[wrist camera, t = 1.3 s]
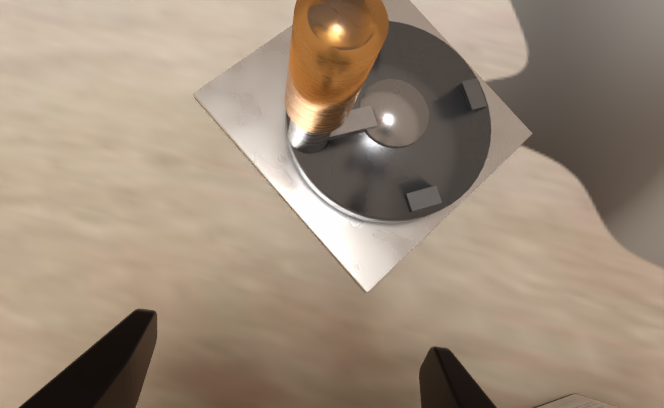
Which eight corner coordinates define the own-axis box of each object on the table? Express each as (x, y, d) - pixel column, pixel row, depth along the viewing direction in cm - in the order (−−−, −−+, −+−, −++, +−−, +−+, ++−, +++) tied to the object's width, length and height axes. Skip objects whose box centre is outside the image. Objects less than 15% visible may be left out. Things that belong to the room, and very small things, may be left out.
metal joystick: (504, 194, 26) (691, 118, 15) (310, 251, 23) (354, 213, 12) (440, 21, 28) (562, -164, 16) (253, 56, 25) (245, -137, 14)
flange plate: (527, 136, 28) (559, 117, 25) (364, 292, 24) (379, 292, 21) (375, -29, 28) (389, -67, 25) (194, 97, 25) (184, 70, 22)
